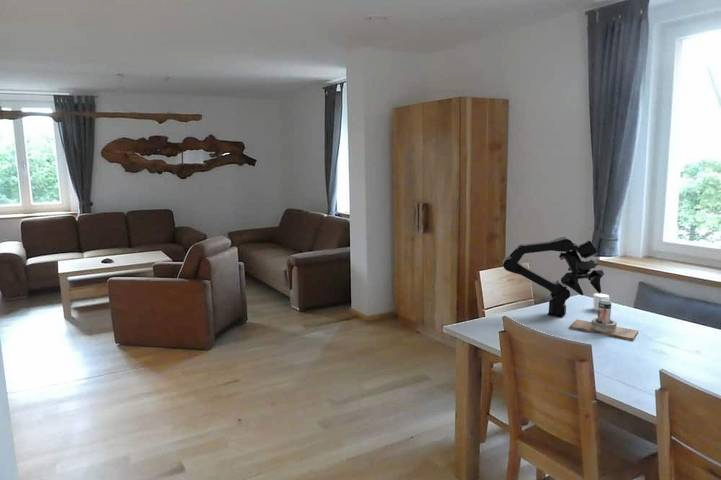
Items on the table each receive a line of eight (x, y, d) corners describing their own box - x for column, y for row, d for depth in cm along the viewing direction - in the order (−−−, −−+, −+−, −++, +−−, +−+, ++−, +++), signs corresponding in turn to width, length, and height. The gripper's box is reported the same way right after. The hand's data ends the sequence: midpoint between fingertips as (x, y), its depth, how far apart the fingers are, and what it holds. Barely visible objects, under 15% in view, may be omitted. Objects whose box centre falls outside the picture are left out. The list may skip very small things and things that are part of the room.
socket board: (569, 328, 214) (569, 319, 214) (576, 321, 223) (577, 312, 222) (633, 340, 200) (633, 331, 199) (638, 332, 209) (639, 323, 208)
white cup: (605, 307, 243) (606, 293, 242) (610, 311, 236) (611, 297, 235) (590, 307, 243) (591, 292, 242) (595, 311, 237) (596, 296, 236)
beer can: (594, 326, 214) (596, 298, 212) (605, 326, 214) (607, 298, 212) (600, 330, 209) (602, 302, 207) (611, 329, 209) (614, 301, 207)
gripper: (566, 254, 216) (583, 286, 208) (602, 251, 222) (620, 282, 213) (553, 268, 225) (569, 299, 216) (588, 265, 230) (605, 295, 222)
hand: (591, 293), depth 217 cm, fingers open, 9 cm apart
